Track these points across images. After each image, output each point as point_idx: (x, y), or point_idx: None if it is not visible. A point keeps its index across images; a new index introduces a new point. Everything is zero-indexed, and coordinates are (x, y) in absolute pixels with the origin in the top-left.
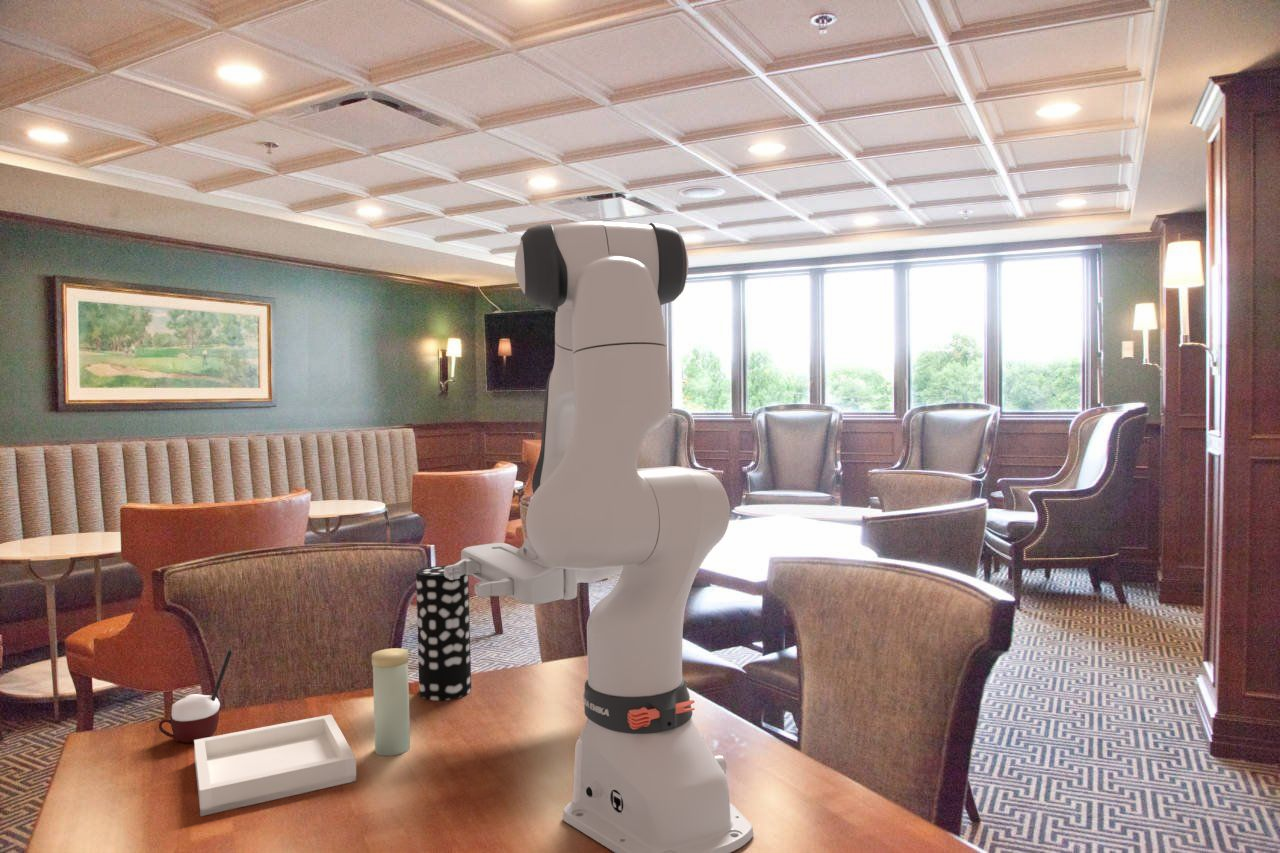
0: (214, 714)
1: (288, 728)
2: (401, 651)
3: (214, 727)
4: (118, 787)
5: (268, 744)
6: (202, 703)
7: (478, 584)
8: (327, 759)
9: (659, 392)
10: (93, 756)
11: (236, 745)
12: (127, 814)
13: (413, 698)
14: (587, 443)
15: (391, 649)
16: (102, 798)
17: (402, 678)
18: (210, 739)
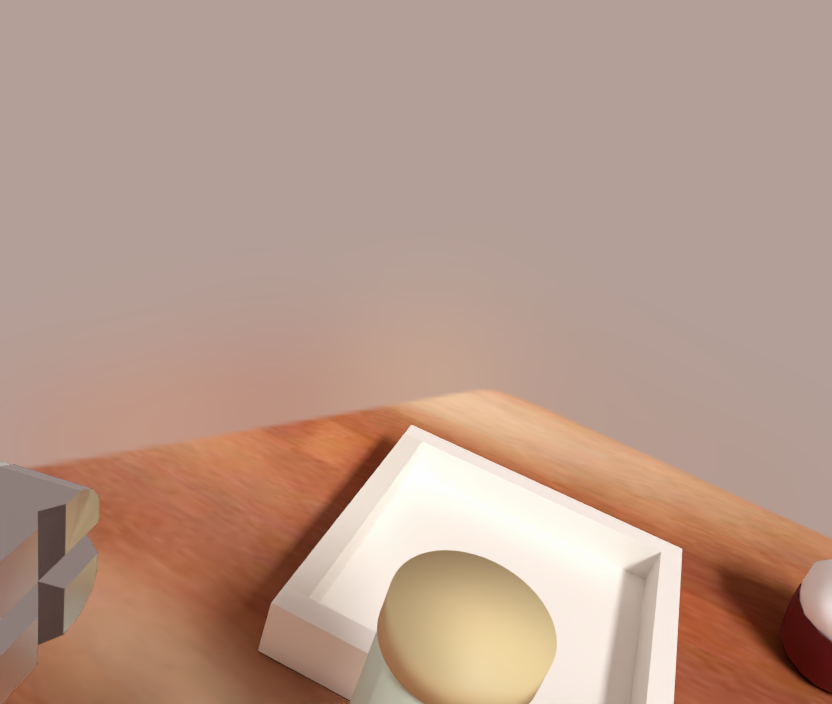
0: (824, 637)
1: (643, 689)
2: (457, 653)
3: (809, 662)
4: (621, 490)
5: (633, 673)
6: (826, 583)
7: (25, 469)
8: None
9: None
10: (802, 545)
11: (645, 611)
12: (500, 444)
13: None
14: None
15: (530, 660)
16: (591, 464)
17: (363, 682)
18: (664, 560)
